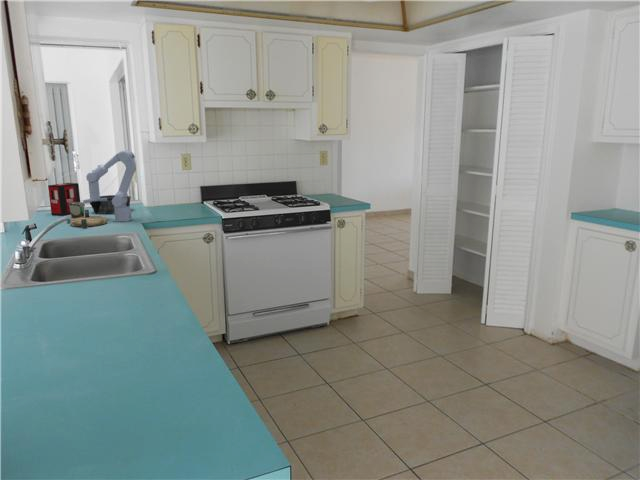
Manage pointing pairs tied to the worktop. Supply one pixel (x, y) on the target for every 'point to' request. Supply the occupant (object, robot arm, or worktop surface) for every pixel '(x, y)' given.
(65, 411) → the worktop surface
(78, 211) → the food container
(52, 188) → the cleaning product box
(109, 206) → the bundt pan
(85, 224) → the pointer post
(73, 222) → the turntable
